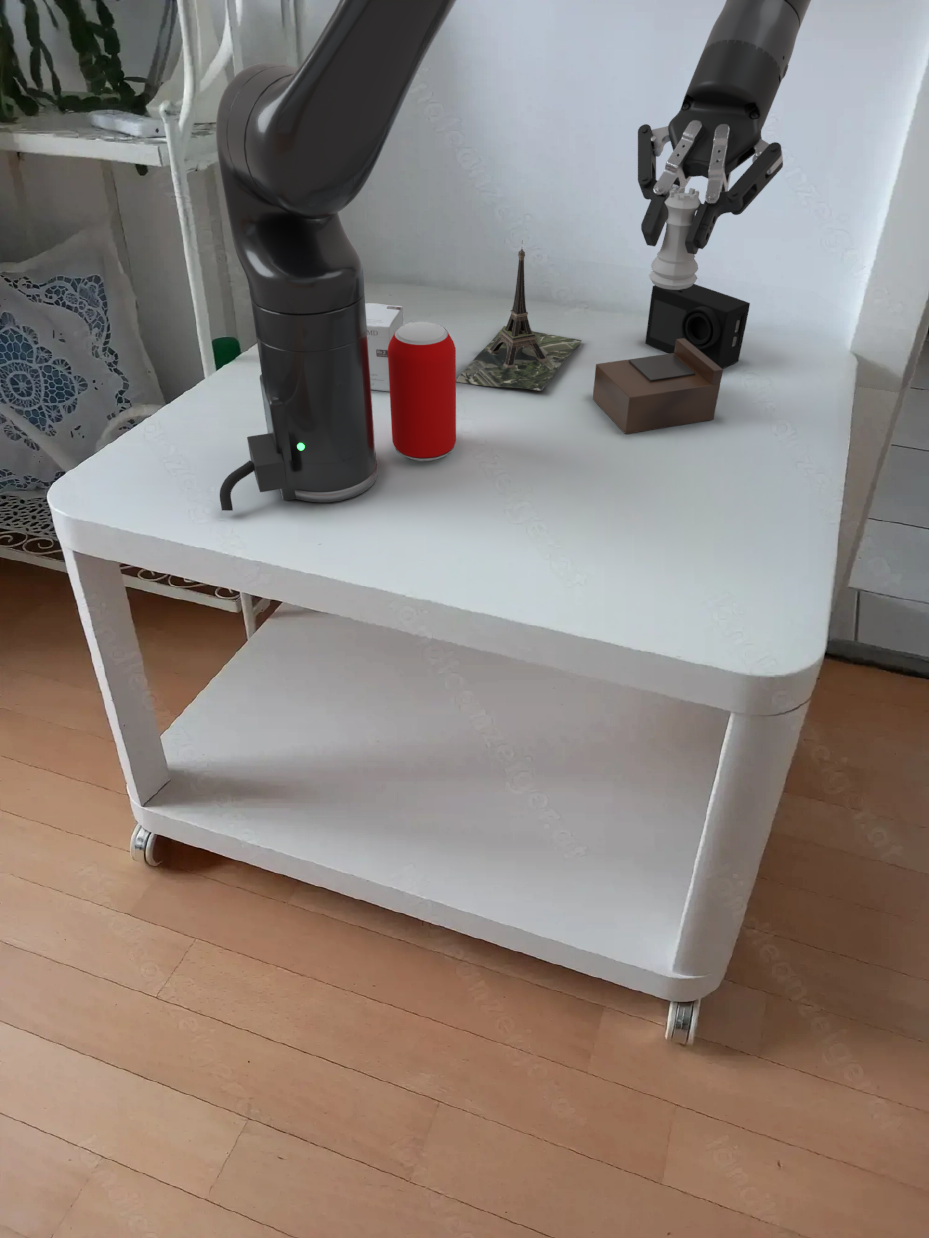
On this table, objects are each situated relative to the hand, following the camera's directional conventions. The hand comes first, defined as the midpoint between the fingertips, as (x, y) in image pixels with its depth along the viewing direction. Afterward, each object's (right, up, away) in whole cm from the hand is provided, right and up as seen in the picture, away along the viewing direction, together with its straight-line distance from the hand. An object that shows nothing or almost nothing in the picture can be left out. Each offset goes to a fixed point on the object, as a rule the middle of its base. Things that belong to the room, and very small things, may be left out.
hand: (669, 244), depth 84 cm
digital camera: (+7, -3, +25) cm, 26 cm away
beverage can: (-22, -17, +7) cm, 29 cm away
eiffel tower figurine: (-12, -4, +23) cm, 26 cm away
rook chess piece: (+1, -2, +4) cm, 5 cm away
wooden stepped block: (+1, -12, +14) cm, 18 cm away
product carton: (-28, -7, +20) cm, 35 cm away
